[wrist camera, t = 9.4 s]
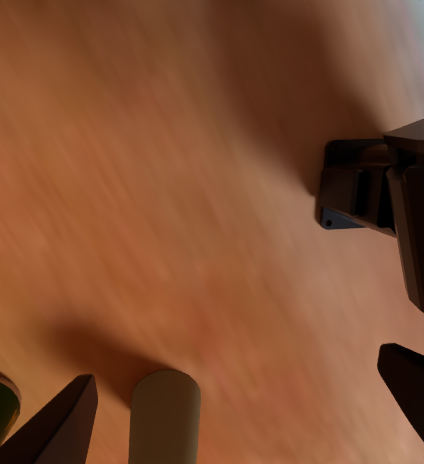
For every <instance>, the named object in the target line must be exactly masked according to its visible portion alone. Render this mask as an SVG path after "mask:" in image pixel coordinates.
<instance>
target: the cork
mask: <svg viewBox="0 0 424 464" xmlns="http://www.w3.org/2000/svg"><path fill="white" fill-rule="evenodd" d="M200 404H201V394H200V389H199V387H198V385H197V383H196V381H195V380H193V379H192V378H191V377H190V376H189V375H187V374H184V373H182V372H180V371H173V370H164V371H157V372H154V373H152V374H150V375H147V376H146V377H145V378H143V379H142V380H141V381H140V382H138V384H137V385H136V387H135V388H134V390H133V393H132V398H131V414H130V436H129V459H128V464H196V463H197V448H198V434H199V419H200Z"/></svg>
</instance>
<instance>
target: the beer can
mask: <svg viewBox="0 0 424 464" xmlns="http://www.w3.org/2000/svg"><path fill="white" fill-rule="evenodd" d="M20 408H21V395H20V392H19V390H18V389H17V387H16V386H15V385H14V384H13V383H12V382H10V381H9V380H7V379H6V378H3V377H0V446H1V444H2V443H3V441H4V439H5V438H6V436H7V435H8V433H9V431H10V430H11V428H12V427H13V425H14V423H15V422H16V420H17V418H18V416H19V414H20Z"/></svg>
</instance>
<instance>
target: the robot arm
mask: <svg viewBox="0 0 424 464" xmlns="http://www.w3.org/2000/svg"><path fill="white" fill-rule="evenodd" d="M383 137H384V139H356V140H332V141H329V142H328V143H327V145H326V148H325V161H324V169H323V170H322V173H321V186H320V200H319V204H320V205H321V214H320V225H321V227H322V228H324V229H327V230H331V229H348V228H366V227H368V228H371V229H373V230H376V231H379V232H381V233H384V234H387V235H389V236H392V237H395V238H397V242H398V247H399V253H400V259H401V265H402V271H403V276H404V282H405V288H406V291H407V294H408V297H409V300H410V301H411V302H412V303H413V304H414V305H415V306H416V307H417V308H418V309H419V310H420V311H422V312H423V313H424V119H422V120H419V121H416V122H414V123H411V124H409V125H406V126H403V127H401V128H398V129H395V130H393V131H390V132H387V133H385V134H383ZM333 144H334V145H335V147H336V148H335V150H334V151H333V150H332V145H333ZM327 220H329V224H328V225H326V224H325V223H326V221H327ZM377 368H378V371H379V373H380V375H381V377H382V379H383V380H384V382H385V383H386V385H387V387H388V388H389V390H390V392H391V393H392V395H393V397H394V398H395V400H396V401H397V403H398V405H399V406H400V408H401V410H402V411H403V413H404V414H405V416H406V418H407V419H408V421H409V422H410V424H411V425H412V426H413V428H414V429H415V431H416V432H417V434H418V435H419V436H420V438H421V439H422V440H423V442H424V355H421V354H419V353H417V352H414V351H412V350H410V349H408V348H405V347H403V346H401V345H398V344H396V343H387V344H382V345H381V346H380V350H379V356H378V363H377ZM97 405H98V394H97V388H96V382H95V377H94V375H93V374H84V375H79V376H77V377H76V378H75V379H74V380H73V381H71V382H70V383H69V384H68V385H67V386H66V387H65V388H64V389H63V390H62V391H61V392H59V393H58V394H57V395H56V396H55V397H54V398H53V399H52V400H51V401H50V402H48V403H47V404H46V405H45V406H44V407H43V408H42V409H41V410H40V411H39V412H38V413H36V414H35V415H34V416H33V417H32V418H31V419H30V420H29V421H28V422H27V423H26V424H24V425H23V426H22V427H21V428H20V429H19V430H18V431H17V432H16V433H15V434H13V435H12V436H11V437H10V438H9V439H8V440H7V441H6V442H5V443H4V444H3V445H1V446H0V464H85V462H86V458H87V453H88V448H89V443H90V439H91V434H92V429H93V424H94V419H95V414H96V410H97Z"/></svg>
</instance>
